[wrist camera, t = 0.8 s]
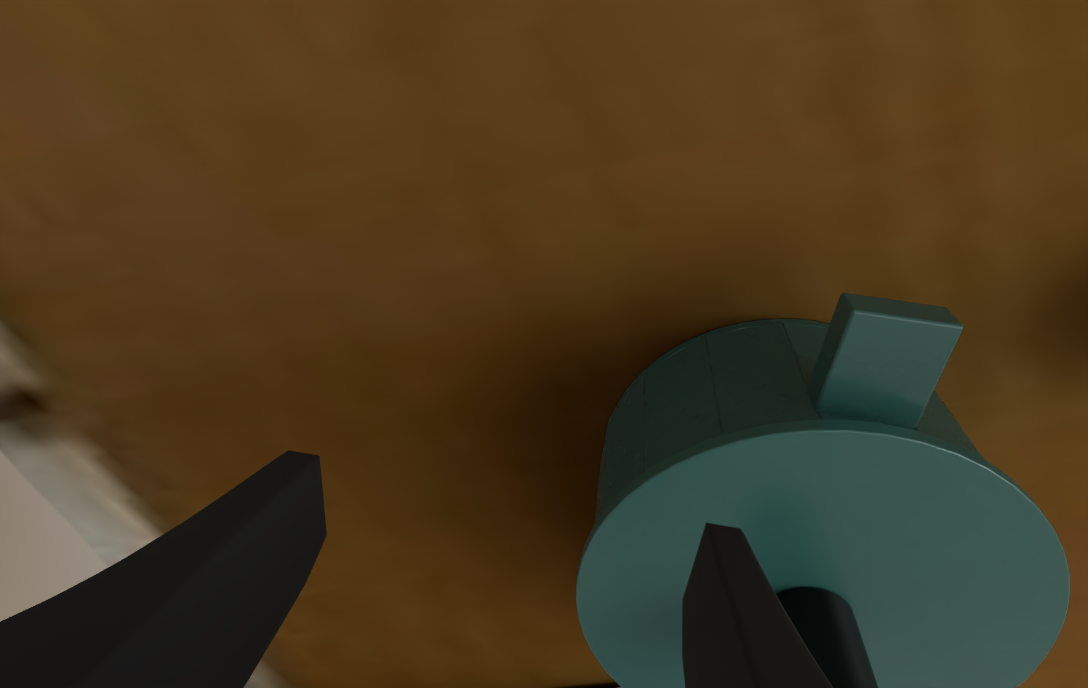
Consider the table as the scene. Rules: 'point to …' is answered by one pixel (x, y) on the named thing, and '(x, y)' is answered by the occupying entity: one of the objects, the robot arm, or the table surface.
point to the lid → (836, 556)
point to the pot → (786, 382)
